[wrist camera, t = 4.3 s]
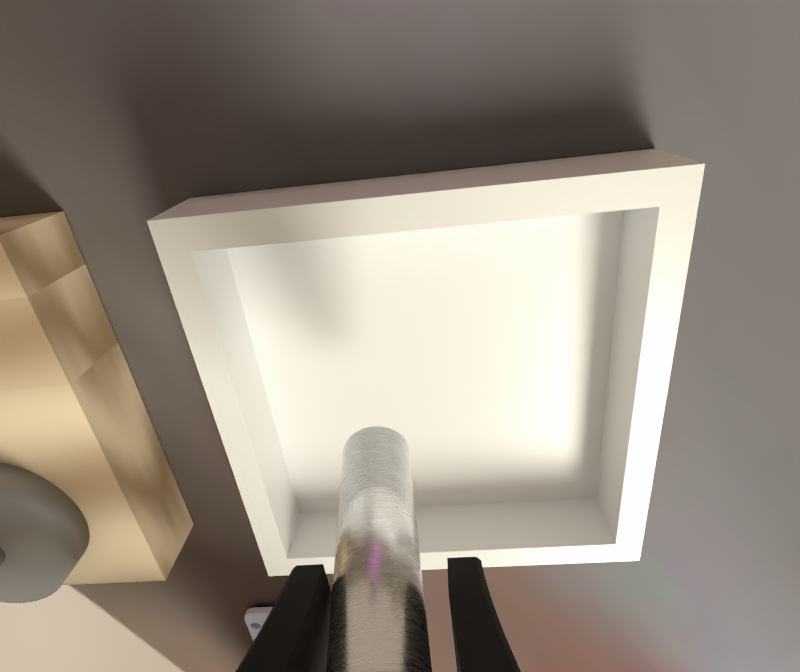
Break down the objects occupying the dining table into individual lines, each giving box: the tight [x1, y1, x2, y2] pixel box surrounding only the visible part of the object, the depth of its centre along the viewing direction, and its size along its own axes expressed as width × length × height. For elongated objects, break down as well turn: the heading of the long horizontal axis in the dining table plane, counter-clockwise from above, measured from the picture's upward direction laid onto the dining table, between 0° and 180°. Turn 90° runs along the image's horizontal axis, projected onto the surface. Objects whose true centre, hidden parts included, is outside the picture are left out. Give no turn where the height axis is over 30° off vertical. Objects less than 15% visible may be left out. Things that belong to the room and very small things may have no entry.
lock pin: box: [326, 426, 432, 672], centre depth 11 cm, size 3×3×8 cm
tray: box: [147, 149, 705, 576], centre depth 18 cm, size 15×15×3 cm
